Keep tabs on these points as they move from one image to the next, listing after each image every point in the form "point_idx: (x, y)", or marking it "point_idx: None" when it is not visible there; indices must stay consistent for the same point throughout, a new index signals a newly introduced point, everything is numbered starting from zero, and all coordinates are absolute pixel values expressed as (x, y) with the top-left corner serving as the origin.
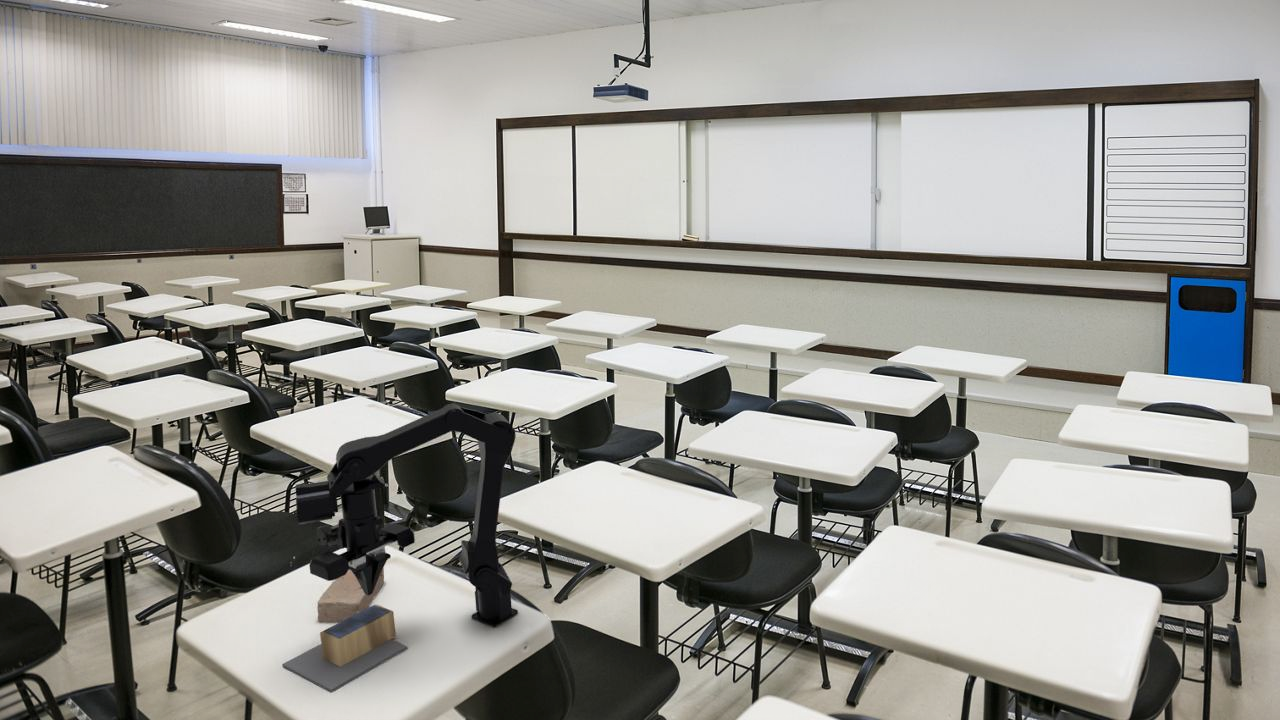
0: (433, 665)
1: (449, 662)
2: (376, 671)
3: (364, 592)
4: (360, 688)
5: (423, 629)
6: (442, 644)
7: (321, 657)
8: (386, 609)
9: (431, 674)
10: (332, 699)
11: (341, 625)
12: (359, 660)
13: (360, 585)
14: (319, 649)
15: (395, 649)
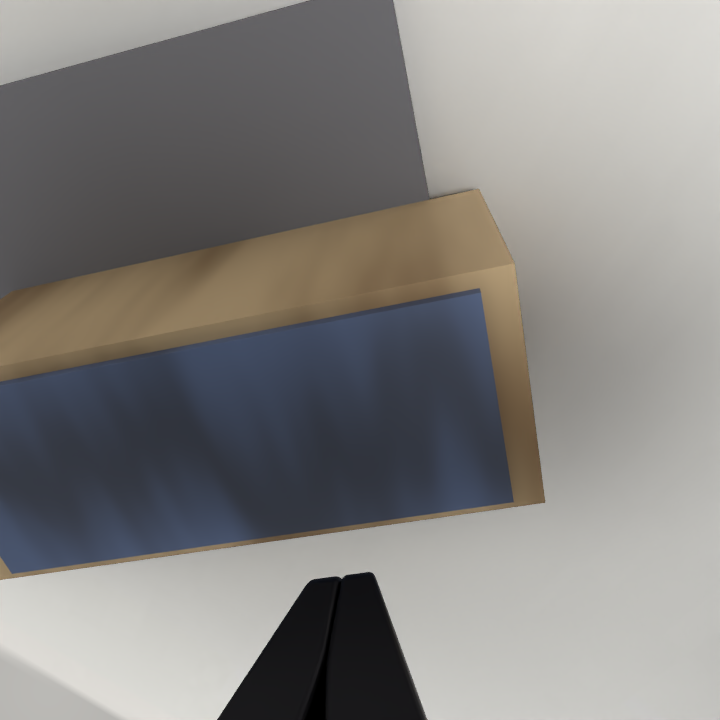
0: (486, 671)
1: (551, 693)
2: (255, 559)
3: (299, 603)
4: (145, 615)
5: (696, 385)
6: (641, 577)
7: (1, 276)
8: (523, 435)
9: (438, 708)
10: (15, 605)
11: (63, 433)
12: None
13: (227, 709)
14: (2, 157)
15: None
